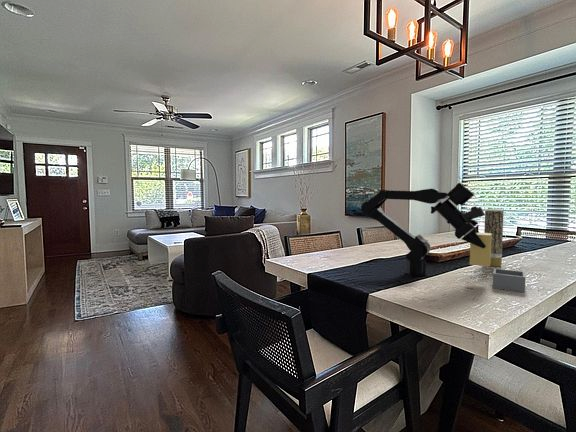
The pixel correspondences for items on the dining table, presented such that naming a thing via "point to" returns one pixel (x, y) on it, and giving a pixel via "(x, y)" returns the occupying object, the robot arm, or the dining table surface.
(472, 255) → the ochre block
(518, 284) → the sleeve
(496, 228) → the bark textured cylinder
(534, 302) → the dining table surface
